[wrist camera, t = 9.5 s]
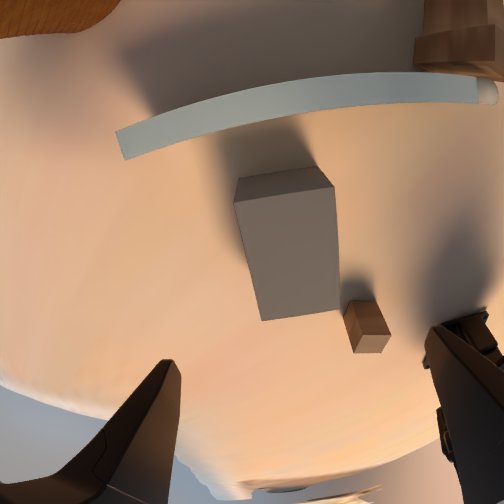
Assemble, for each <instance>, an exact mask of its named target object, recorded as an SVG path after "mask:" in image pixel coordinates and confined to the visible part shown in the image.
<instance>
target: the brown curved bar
mask: <svg viewBox="0 0 504 504" xmlns="http://www.w3.org/2000/svg"><path fill="white" fill-rule="evenodd" d="M413 64H414V65H416V66H419V67H421V68H423V69H425V70H428V71H430V72H432V73H443V74H455V75H465V76H473V77H477V78H488V79H491V80H492V81H499V82H504V5H503V0H425V3H424V27H423V36H422V37H418V38H415V48H414V58H413ZM343 320H344V323H345V326H346V330H347V333H348V336H349V340H350V343H351V346H352V350H353V353H381V352H382V351H383V349H384V347H385V346H386V344H387V342H388V340H389V339H390V337H391V333H390V331H389V328H388V326H387V324H386V322H385V319H384V317H383V315H382V313H381V311H380V308H379V306H378V304H377V302H368V301H353V300H350V303H349V305H348V308H347V310H346V313H345V315H344V317H343Z"/></svg>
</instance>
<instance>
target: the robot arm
mask: <svg viewBox="0 0 504 504" xmlns="http://www.w3.org/2000/svg"><path fill="white" fill-rule="evenodd" d="M488 316H489V314H488V312H487V311H483V312H480V313H477V314H474V315H470V316H467V317H464V318H460V319H457V320H453V321H450V322H446V323H443V324H441V325H437V326H433V327H431V328H430V330H429V332H428V335H427V338H426V340H425V351H426V354H427V357H426V359H425V362H424V364H423V367H424V369H429V368H430V370H431V375H432V379H433V383H434V386H435V389H436V392H437V395H438V398H439V401H440V404H441V407H439V408H438V409H437V410H436V412H437V421H438V427H439V433H440V440H441V447H442V452H443V454H444V455H446V457H447V459H448V460H449V461H450V462H451V463H452V464H454V467H455V469H456V471H457V474H458V478H459V482H460V485H461V489H462V495H463V501H464V504H504V356H503V355H502V354H501V352H500V350H499V349H498V347H497V346H498V343H497V341H496V340H495V338H494V337H493V335H492V334H491V332H490V330H489V329H488V327H487V326H486V325H485V323H486V321H487V318H488ZM180 397H181V373H180V371H179V369H178V368H177V366H176V364H175V362H174V361H173V360H172V359H162V360H161V361H160V362H159V363H158V364H157V365H156V366H155V367H154V369H153V370H152V371H151V372H150V373H149V374H148V376H147V377H146V378H145V379H144V380H143V381H142V383H141V384H140V385H139V386H138V387H137V388H136V389H135V391H134V392H133V393H132V394H131V395H130V396H129V398H128V399H127V400H126V401H125V402H124V403H123V405H122V406H121V407H120V408H119V409H118V410H117V412H116V413H115V414H114V415H113V416H112V417H111V419H110V420H109V421H108V422H107V423H106V424H105V426H104V427H103V428H102V429H101V430H100V431H99V432H98V434H97V435H96V436H95V437H94V438H93V439H92V440H91V441H90V442H89V443H88V444H87V445H86V447H84V448H83V449H82V450H81V451H80V452H79V453H78V454H77V455H76V456H75V457H74V458H73V459H72V460H70V461H69V462H68V463H67V464H66V465H65V466H64V467H63V468H62V469H60V470H59V471H58V472H57V473H55V474H53V475H50V476H48V477H44V478H39V479H34V480H29V481H24V482H18V483H12V484H4V483H2V482H1V481H0V504H168V496H169V488H170V480H171V472H172V464H173V457H174V451H175V444H176V437H177V431H178V424H179V417H180Z"/></svg>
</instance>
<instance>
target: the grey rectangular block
mask: <svg viewBox="0 0 504 504" xmlns="http://www.w3.org/2000/svg"><path fill="white" fill-rule="evenodd" d="M234 206H235V210H236V214H237V219H238V223H239V227H240V232H241V236H242V240H243V244H244V249H245V253H246V257H247V261H248V266H249V270H250V274H251V278H252V283H253V287H254V291H255V295H256V299H257V304H258V308H259V312H260V316H261V320H262V321H267V320H274V319H281V318H288V317H295V316H301V315H308V314H314V313H320V312H326V311H332V310H338V309H340V277H339V247H338V228H337V213H336V200H335V188H334V186H333V185H332V183H331V182H330V181H329V180H328V178H327V177H326V176H325V175H324V173H323V172H322V171H321V170H320V168H319V167H318V166H315V167H308V168H301V169H294V170H287V171H281V172H275V173H269V174H263V175H257V176H251V177H246V178H240V179H239V181H238V186H237V190H236V195H235V199H234Z"/></svg>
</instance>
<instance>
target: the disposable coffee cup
mask: <svg viewBox="0 0 504 504" xmlns="http://www.w3.org/2000/svg"><path fill="white" fill-rule="evenodd" d="M119 2H120V0H0V39H3V38H7V37H8V38H10V37H15V36H16V37H18V36H23V35H25V36H27V35H31V34H32V35H36V34H51V33H53V34H54V33H76V32H80V31H83V30H85V29H87V28H90V27H92V26H93V25H95V24H96V23H98V22H100V21H101V20H102V19H103V18H105V17H106V16H107V15H108V14H109V13H110V12H111V11H112V10H113V9H114V8H115V7H116V6H117V4H118V3H119Z"/></svg>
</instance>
